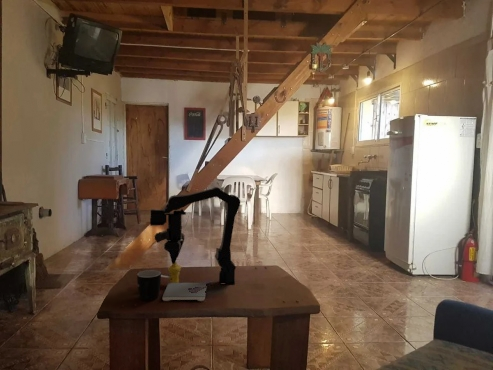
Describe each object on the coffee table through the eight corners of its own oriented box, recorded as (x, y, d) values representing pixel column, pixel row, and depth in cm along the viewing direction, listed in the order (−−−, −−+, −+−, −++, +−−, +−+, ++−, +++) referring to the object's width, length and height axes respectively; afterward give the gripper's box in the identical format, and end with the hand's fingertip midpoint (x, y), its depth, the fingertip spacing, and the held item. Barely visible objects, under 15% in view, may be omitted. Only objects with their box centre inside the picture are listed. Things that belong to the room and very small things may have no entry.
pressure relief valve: (176, 287, 154) (176, 264, 153) (152, 283, 158) (152, 261, 158) (182, 283, 159) (183, 261, 159) (159, 279, 164) (159, 258, 163)
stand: (206, 287, 155) (206, 282, 154) (204, 302, 140) (204, 296, 139) (168, 288, 154) (168, 282, 153) (162, 302, 139) (162, 296, 138)
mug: (140, 294, 146) (139, 269, 145) (162, 294, 147) (162, 269, 146) (133, 306, 134) (132, 280, 133) (157, 306, 135) (157, 279, 134)
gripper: (159, 221, 165) (160, 254, 166) (151, 229, 146) (151, 267, 147) (184, 221, 165) (184, 254, 166) (179, 229, 147) (179, 266, 148)
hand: (175, 260), depth 157 cm, fingers open, 9 cm apart
